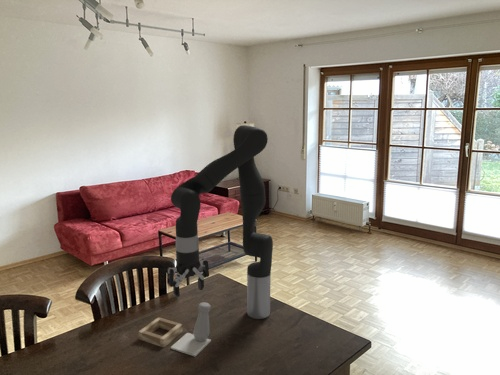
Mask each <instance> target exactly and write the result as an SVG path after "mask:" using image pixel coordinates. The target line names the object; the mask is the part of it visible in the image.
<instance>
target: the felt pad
mask: <svg viewBox="0 0 500 375" xmlns="http://www.w3.org/2000/svg"><path fill="white" fill-rule="evenodd" d="M211 342H212V339H210V338H207V339H206V340H205V341H200V342H199V341H197V340H195V337H194V334H193V333H190V332H186V333H185V334H184V335H182V337H180V339H179V340H177V341H176V342H175V343H174V344H172V345H171V346H170V349H171V350H174V351H176V352H179V353H183V354H186V355H189V356H192V357H197V356H198V355H199V354H200V353H201V352H202V351H203V350H204V349H205V348H206V346H208V345H209V343H211Z"/></svg>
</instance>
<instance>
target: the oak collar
mask: <svg viewBox="0 0 500 375" xmlns="http://www.w3.org/2000/svg"><path fill="white" fill-rule="evenodd" d="M159 328H160V329H163V330H167V331H168V332H166V333H165V334H164V335H159V334H156V333H154V332H155V331H156V330H158V329H159ZM183 329H184V328H183V324H182V323H180V322H176V321H172V320H169V319H166V318H162V317H159V316H158V317H157V318H155V319H154V320H153V321H151V322H150V323H149V324H147V325H146V326H145V327H143V328H141V329H140V330H139V331H138V340H140V341H143V342H146V343H148V344H152V345H153V346H158V347H161V348H165V347H167V345H169V344H170V343H171V342H172V341H174V339H176V338H177V337H178V336H180V335H181V333H183V331H184V330H183Z"/></svg>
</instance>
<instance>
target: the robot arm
mask: <svg viewBox="0 0 500 375" xmlns="http://www.w3.org/2000/svg"><path fill="white" fill-rule="evenodd" d="M232 139H233V147H234V148H233V150H231V151H230V152H229V153H227V154H225V155H223V156H220V157H219V158H216V159H214V160H213V161H211V162H210V163H209V164H207V165H206V166H204V167H203V168H202V169H201V170H200V171H199V172H198V173H197V174H195V175H194V176H193V177H191V178H189V179H188V180H185V181H184V182H183V183H181V184H179V185H178V186H177V187H175V189H174V190H173V191H172V193H171V196H170V201H171V203H172V205H173V206H174V207H175V208H178V209H180V214H179V217H177V218H176V220H175V257H176V266H175V267H170V266H168V267H167V268H166V269H167V271H166V272H167V273H166V276H167V279H166V283H167V285H169V287H173V288H172V289H173V295H174V296H175V297H176V298H178V297H180V285H181V283H182V282H183V281H184V279H187V278H190V277H195V276H197V288H198V290H199V291H203V289H204V288H205V278H209V276H210V270H209V261H208V260H207V259H205V258H202V259H201V260H200V246H199V245H200V243H199V236H198V234H199V232H198V220H199V217H200V210H201V198H200V195H201V194H208V193H209V192H211V191H213V189H214V188H215V187H216V186H218V185H219V184H220V183H221V181H223V180H224V179H225V178H226V177H227V176H229V175H230V174H231V173H232V172H234V171H235V170H236V169H237V172H238V180H239V192H240V204H241V214H242V249H243V252H244V254H245V255H246V256H249V257H255V258H258V259H259V258H260V259H259V261H256V262H251V263H250V264H248V265H247V270H246V271H247V274H246V282H247V283H246V286H247V290H246V295H247V296H246V302H247V303H246V314H247V316H248V317H249V318H252V319H256V320H261V319H266V318H268V317H269V316H270V314H271V279H272V278H271V273H272V272H271V271H272V266H273V265H272V262H273V247H274V242H273V241H274V240H273V237H272V236H271V235H270V234H265V233H259V232H256V230H255V225H256V221H257V219H258V218H259V216H260V214H261V213H262V212H263V209H264V208H265V206H266V202H267V201H266V199H267V198H266V188H265V187H266V186H265V183H264V180H263V177H262V176H261V174H260V172H259V170H258V167H257V165H256V162H255V157H256V156H258V154H260V153H262V152H263V151H264V149H266V147H267V144H268V133H267V132H266V131H265V130H264V129H263V128H260V127H257V126H251V125H239V126H238V127H237V128H236V129H235V131H234V133H233V138H232ZM200 266H201V268H202V272H200V271H199V268H200ZM176 272H177V273H176ZM174 276H175V278H174Z"/></svg>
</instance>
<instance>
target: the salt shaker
mask: <svg viewBox="0 0 500 375" xmlns="http://www.w3.org/2000/svg"><path fill="white" fill-rule="evenodd" d="M211 308H212V306H211V304H210V303H208V302H200V303H199V304H198V306H197V310H198V315H197V317H196V321H195V324H194V328H193V331H192V334H194V337H195V340H197V341H199V342H200V341H205V340H206V339H208V337H209V335H210V317H209V312H210V311H211Z"/></svg>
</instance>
